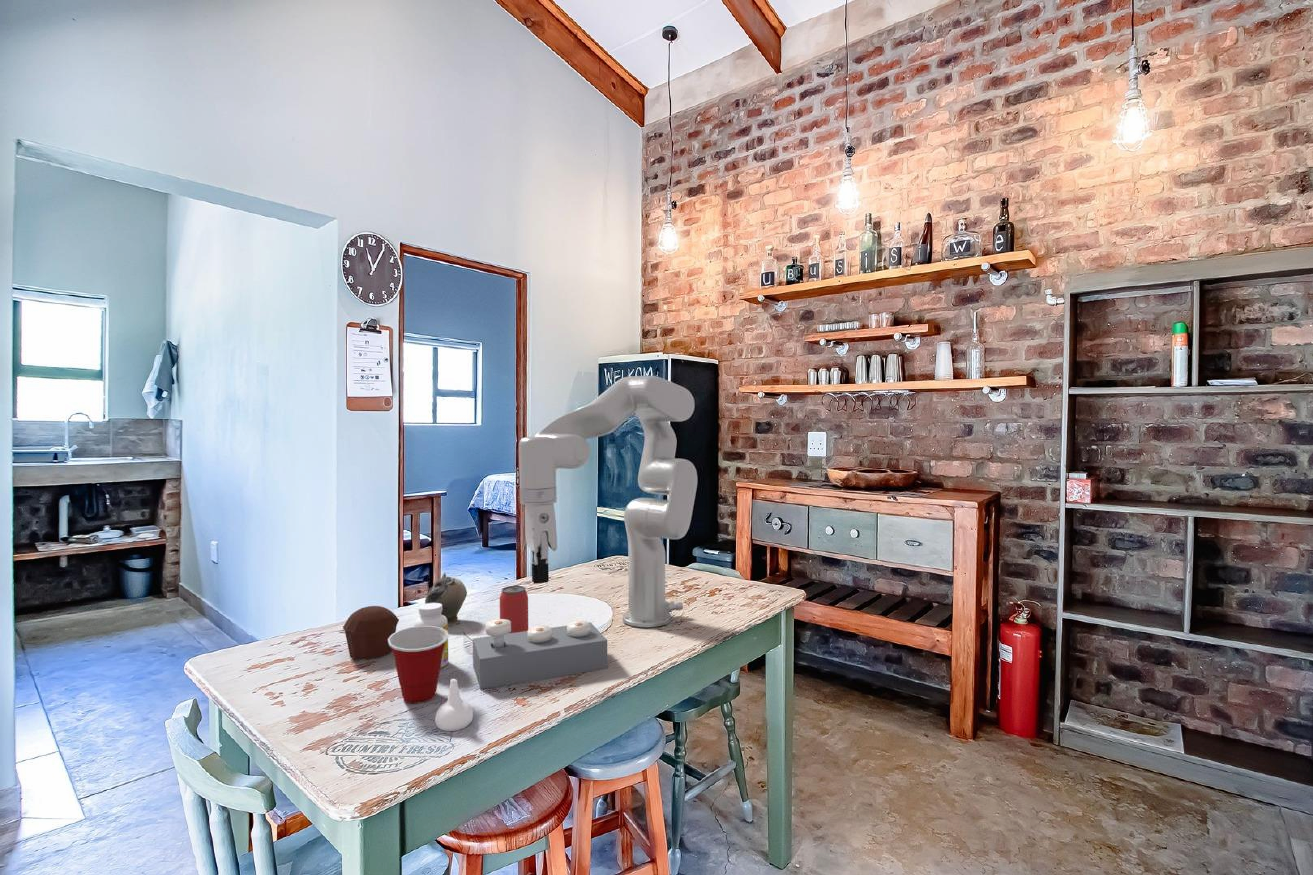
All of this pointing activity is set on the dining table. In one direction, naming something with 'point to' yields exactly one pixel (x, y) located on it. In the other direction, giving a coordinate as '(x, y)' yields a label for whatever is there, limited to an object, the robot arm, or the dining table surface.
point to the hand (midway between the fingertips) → (540, 581)
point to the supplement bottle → (434, 623)
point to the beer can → (515, 607)
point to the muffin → (370, 632)
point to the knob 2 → (578, 628)
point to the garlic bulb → (454, 711)
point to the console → (537, 657)
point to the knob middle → (539, 634)
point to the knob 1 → (498, 631)
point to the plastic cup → (418, 660)
